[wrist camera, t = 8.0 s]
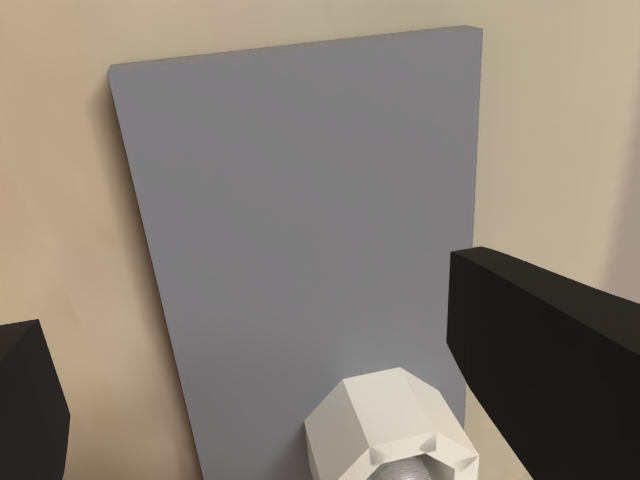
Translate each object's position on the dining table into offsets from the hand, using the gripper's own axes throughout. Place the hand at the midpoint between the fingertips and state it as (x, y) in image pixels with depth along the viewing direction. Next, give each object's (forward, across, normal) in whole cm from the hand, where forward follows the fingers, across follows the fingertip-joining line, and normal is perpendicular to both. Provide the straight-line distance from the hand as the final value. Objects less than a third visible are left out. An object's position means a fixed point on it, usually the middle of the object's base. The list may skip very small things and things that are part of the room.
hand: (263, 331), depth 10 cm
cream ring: (+8, -4, +11) cm, 15 cm away
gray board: (+10, -3, +6) cm, 12 cm away
